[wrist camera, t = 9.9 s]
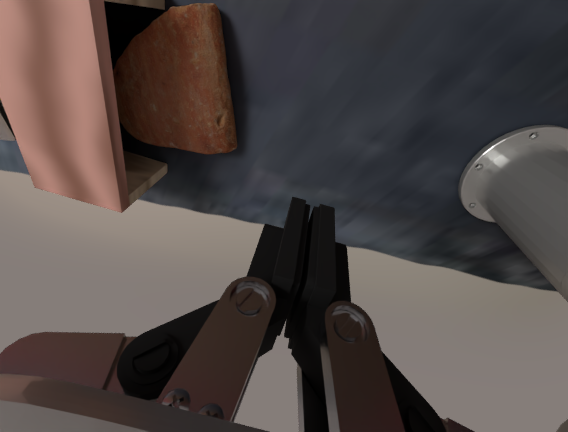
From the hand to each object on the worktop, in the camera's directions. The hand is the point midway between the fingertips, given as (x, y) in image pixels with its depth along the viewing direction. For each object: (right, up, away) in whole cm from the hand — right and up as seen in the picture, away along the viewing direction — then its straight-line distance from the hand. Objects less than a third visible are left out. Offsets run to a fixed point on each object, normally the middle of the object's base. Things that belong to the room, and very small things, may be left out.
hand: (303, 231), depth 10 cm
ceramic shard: (-14, +17, +21) cm, 30 cm away
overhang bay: (-20, +17, +21) cm, 34 cm away
